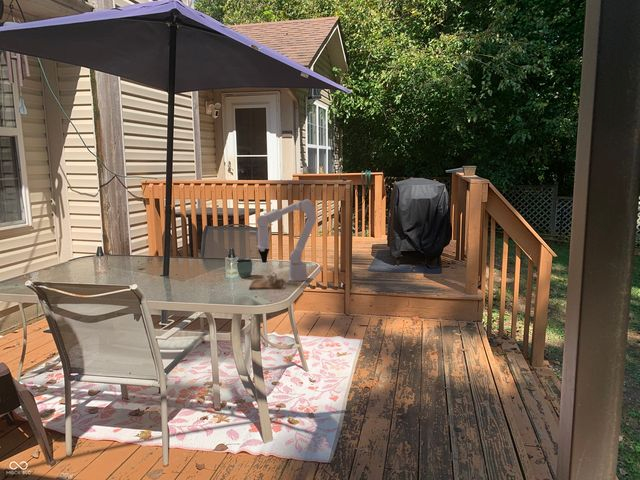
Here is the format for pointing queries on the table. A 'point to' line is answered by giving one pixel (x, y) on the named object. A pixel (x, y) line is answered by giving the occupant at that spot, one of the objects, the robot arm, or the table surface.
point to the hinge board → (266, 283)
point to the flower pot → (244, 267)
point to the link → (273, 278)
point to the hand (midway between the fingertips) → (264, 262)
